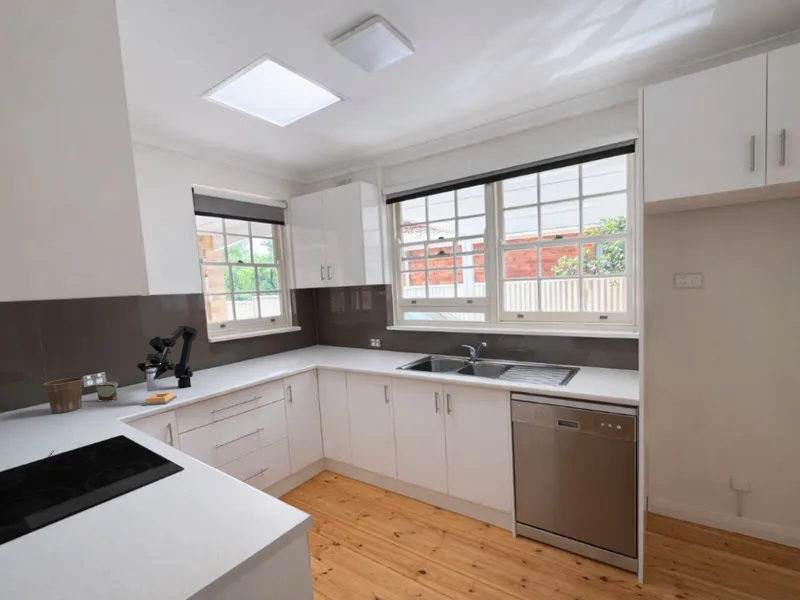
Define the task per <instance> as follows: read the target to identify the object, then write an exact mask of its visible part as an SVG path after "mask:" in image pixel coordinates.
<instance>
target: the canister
mask: <svg viewBox="0 0 800 600" xmlns="http://www.w3.org/2000/svg"><path fill="white" fill-rule="evenodd" d="M156 372H157V368H150V369H146V379H147V380H146V390H147V392H155V391H157V390H158V378H157V379H154V377H155V375H156Z"/></svg>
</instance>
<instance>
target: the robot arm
mask: <svg viewBox="0 0 800 600" xmlns="http://www.w3.org/2000/svg"><path fill="white" fill-rule="evenodd" d="M197 336H198V330H197V329H196V328H193V327H190V326H188V325H179V326H178V327H177V328H176V329H175V330H173V332H172V333H169V335H167V336H164V337H160V336H155V337H154V338H152V339H151V340H150V341H148V342H149V343H148V345H150V347H151V348H152V349H153V350H154V351H155V352H156V353H146V358H145V361H146V362H145V361H142V362H138V363H137V365H136V367H137V368H138V369H139V370H140V371H141V372H144V379H145V380H146V381H147V379H146V369H150V368H156V375H155V377H154V379H157V380H158V378H159V377H160V376H162V375H163V374H165V373H166V372H168V371H173V374H174V377H175V379H177V387H178V388H179V389H185V388H190V387H192V384H191V378H192V377H193V376H194V372H193V371H192V370H191V366H190V363H189V361H190V355H191V350H192V347H193V346H192V345H193V342H194V341H195V340H196V338H197ZM180 338H182V340H183V344H182V348H181V349H182V350H181V354H180V358H179V362H178V363H176V364H174V363H173V362H172V360H168V359H167V357H168V355H170V354H172V351H171V348H173V347H174V346H175V345H176V344H177V340H179V339H180ZM147 361H149V363H150V364H149V363H147Z"/></svg>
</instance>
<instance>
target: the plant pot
mask: <svg viewBox="0 0 800 600" xmlns="http://www.w3.org/2000/svg"><path fill="white" fill-rule="evenodd" d="M84 379H85V377H84V376H83V377H82V376H81V377H80V376H79V377H69V378H62V379H55V380H52V381H48V382H45V383H43V386H44V387H45V392H47V397H48V402H49V407H50V412H51V414H64V413H69V412H71V411H76V410H79V409H81V408H82V398H83V397H82V395H83V386H84Z"/></svg>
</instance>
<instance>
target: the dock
mask: <svg viewBox="0 0 800 600" xmlns="http://www.w3.org/2000/svg"><path fill="white" fill-rule="evenodd" d="M176 398H178V397H177V395H174V392H161V393H154V394H152V395H150V396H148V397H147V398H145V402H144V403H142V406H143V407H147V406H146V405H149V406H161V405H167V404H169V403H171V402H172V401H174V400H175V399H176Z"/></svg>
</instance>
